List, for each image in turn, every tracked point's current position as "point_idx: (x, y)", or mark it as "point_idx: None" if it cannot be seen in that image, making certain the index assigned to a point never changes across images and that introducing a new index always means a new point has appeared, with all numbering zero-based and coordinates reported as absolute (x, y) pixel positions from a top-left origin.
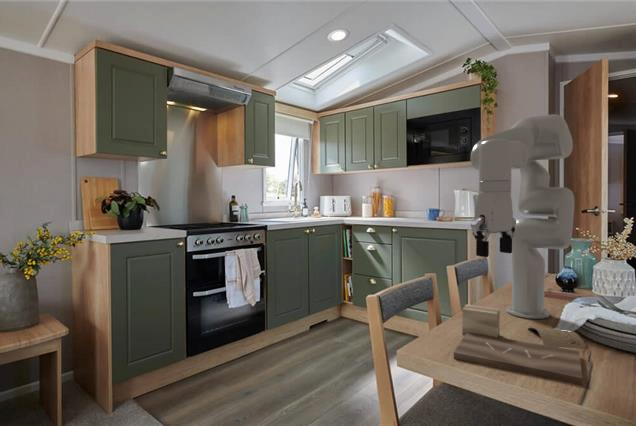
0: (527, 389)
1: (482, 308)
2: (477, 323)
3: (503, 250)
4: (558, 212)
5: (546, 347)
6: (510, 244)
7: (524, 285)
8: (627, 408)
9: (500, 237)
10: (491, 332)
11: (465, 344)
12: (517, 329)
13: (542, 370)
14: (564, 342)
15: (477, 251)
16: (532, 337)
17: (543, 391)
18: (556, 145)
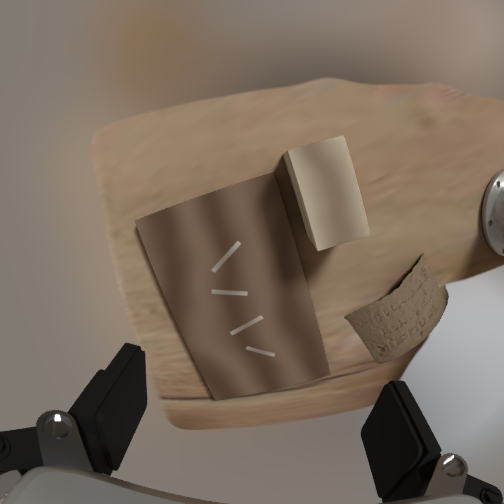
0: None
1: (340, 194)
2: (297, 192)
3: (379, 409)
4: None
5: (307, 336)
6: (374, 471)
7: None
8: (197, 428)
9: (425, 455)
10: (305, 225)
11: (191, 214)
12: (409, 236)
13: (195, 360)
14: (373, 339)
15: (99, 372)
16: (380, 280)
17: (154, 365)
18: None
